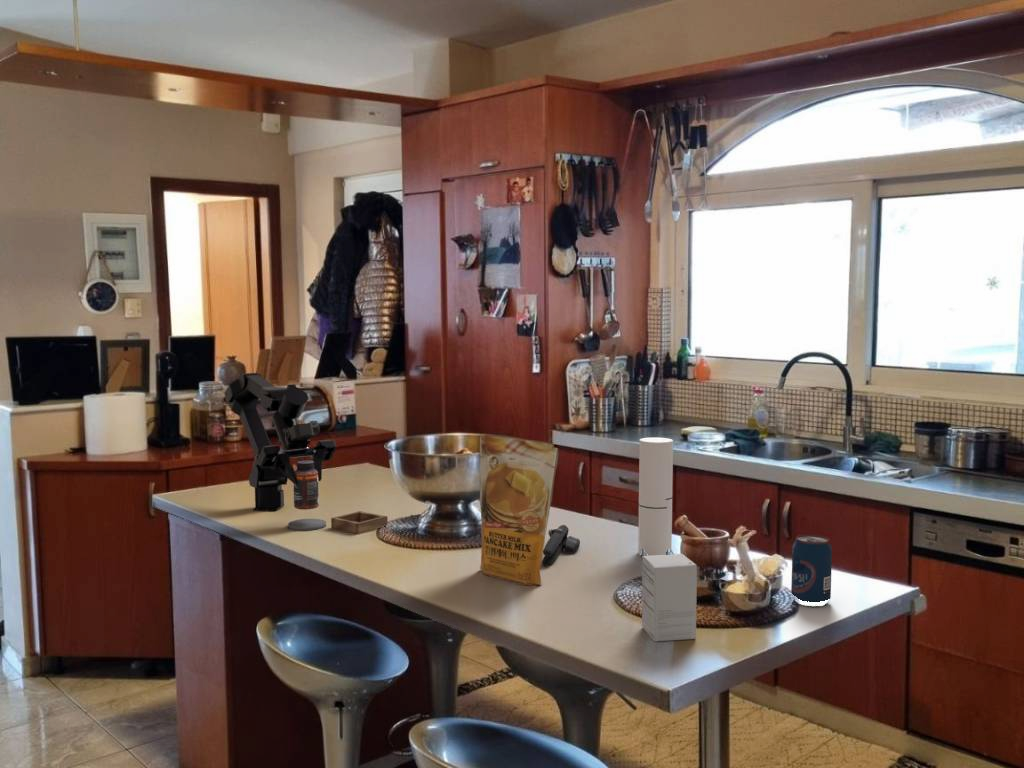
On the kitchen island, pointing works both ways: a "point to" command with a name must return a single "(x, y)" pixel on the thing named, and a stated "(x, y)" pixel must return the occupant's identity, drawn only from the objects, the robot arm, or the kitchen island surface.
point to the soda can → (811, 568)
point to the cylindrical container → (655, 495)
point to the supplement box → (669, 597)
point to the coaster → (307, 524)
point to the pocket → (358, 522)
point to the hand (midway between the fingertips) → (308, 481)
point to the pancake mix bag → (515, 505)
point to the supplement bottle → (306, 486)
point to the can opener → (559, 544)
